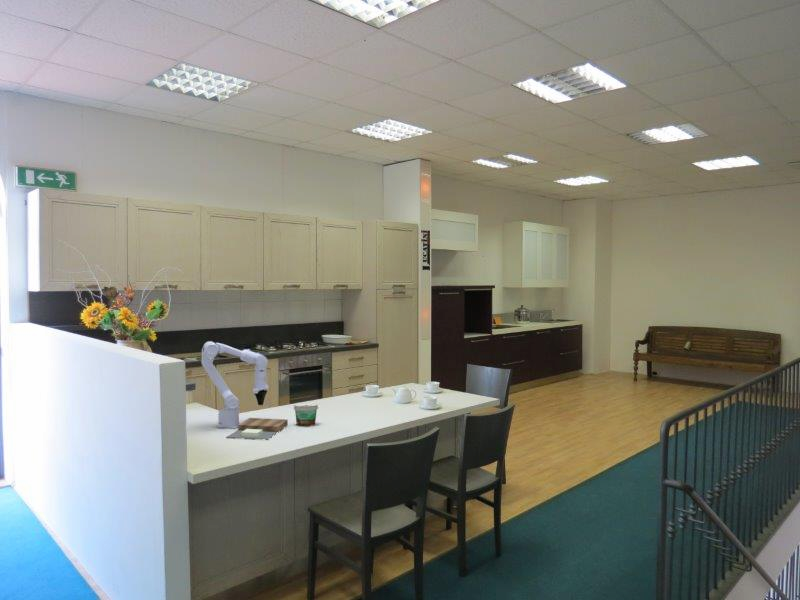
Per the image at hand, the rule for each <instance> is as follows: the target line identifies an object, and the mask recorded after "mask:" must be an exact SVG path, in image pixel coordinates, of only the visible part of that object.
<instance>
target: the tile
mask: <svg viewBox="0 0 800 600" xmlns="http://www.w3.org/2000/svg"><path fill="white" fill-rule="evenodd" d="M262 434H263V430H261V429H246V430H244V431H242V432H241V436H242V437H259V436H260V435H262Z"/></svg>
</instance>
